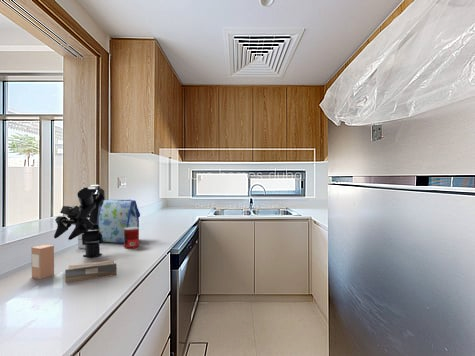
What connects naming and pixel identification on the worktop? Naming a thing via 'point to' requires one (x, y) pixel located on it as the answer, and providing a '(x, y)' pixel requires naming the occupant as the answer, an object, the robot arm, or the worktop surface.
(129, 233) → the canned food
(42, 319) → the worktop surface
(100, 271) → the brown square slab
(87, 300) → the worktop surface
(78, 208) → the robot arm
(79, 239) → the syrup box
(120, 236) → the lunch bag
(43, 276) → the carton
